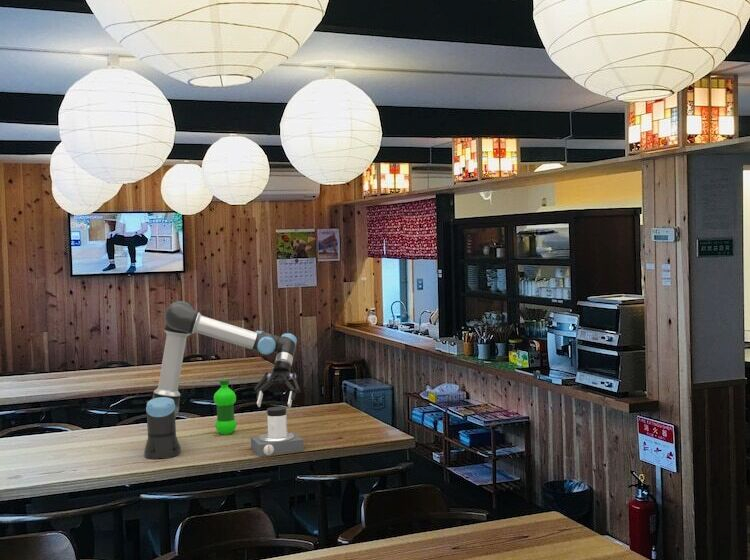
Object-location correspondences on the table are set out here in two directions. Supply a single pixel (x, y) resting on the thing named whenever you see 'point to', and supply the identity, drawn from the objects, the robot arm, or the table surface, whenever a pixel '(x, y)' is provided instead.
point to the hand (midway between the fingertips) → (273, 405)
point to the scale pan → (265, 438)
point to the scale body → (276, 446)
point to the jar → (277, 422)
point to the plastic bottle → (225, 408)
